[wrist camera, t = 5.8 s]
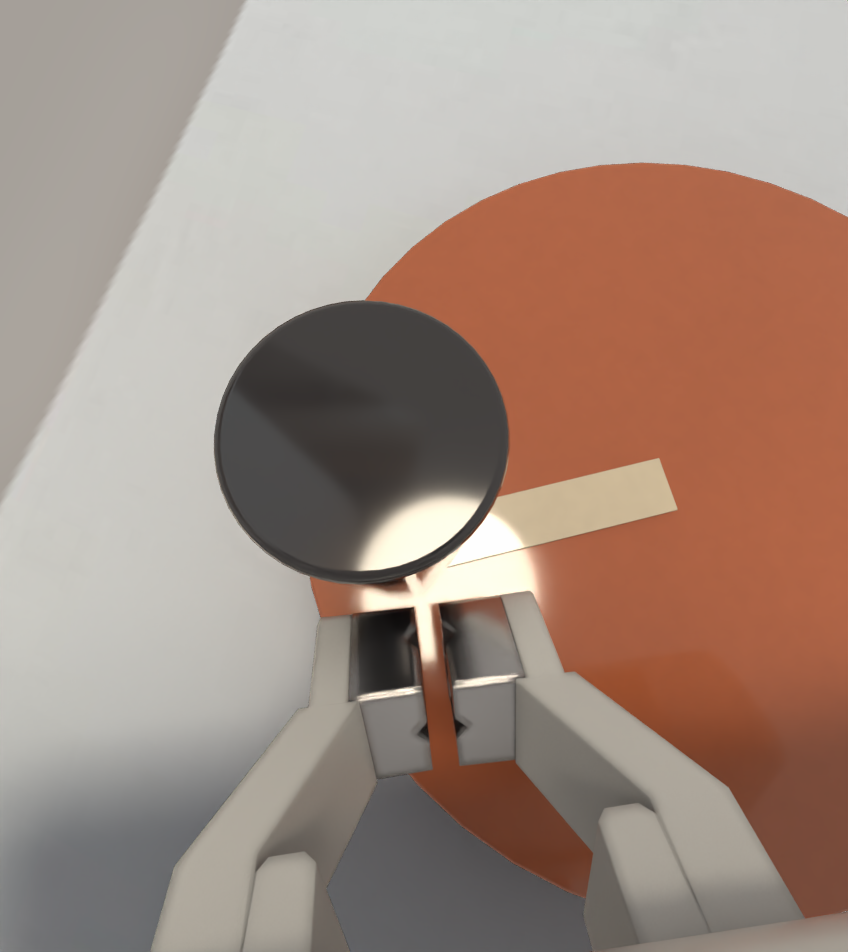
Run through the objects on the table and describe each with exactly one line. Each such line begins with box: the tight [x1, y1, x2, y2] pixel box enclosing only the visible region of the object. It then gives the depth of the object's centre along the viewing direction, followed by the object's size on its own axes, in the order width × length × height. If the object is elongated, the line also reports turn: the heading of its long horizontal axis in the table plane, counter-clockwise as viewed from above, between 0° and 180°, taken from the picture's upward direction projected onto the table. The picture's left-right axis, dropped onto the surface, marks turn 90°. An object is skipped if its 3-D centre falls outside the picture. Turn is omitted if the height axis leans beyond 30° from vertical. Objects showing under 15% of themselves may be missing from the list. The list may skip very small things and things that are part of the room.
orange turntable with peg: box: [214, 163, 848, 918], centre depth 8 cm, size 17×17×9 cm
